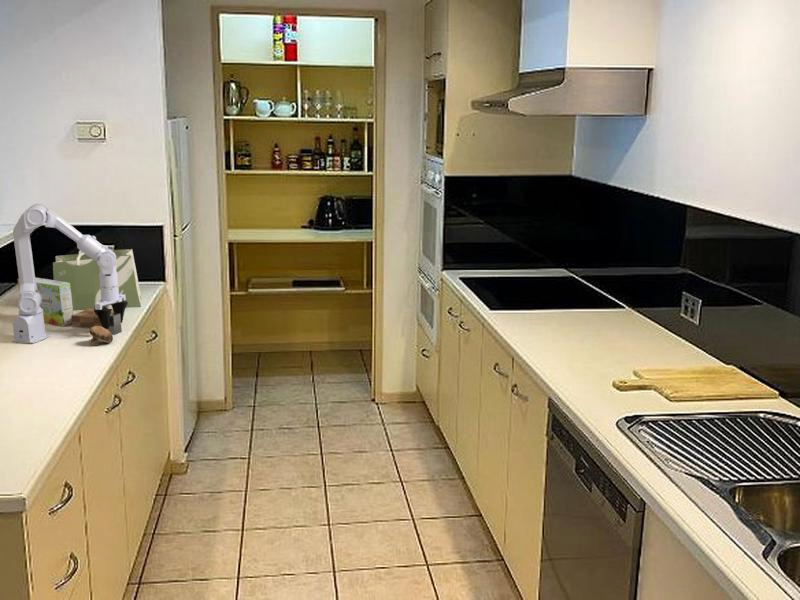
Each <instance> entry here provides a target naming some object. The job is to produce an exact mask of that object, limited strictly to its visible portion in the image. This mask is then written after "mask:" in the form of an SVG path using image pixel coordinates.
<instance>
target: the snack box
mask: <svg viewBox="0 0 800 600" xmlns="http://www.w3.org/2000/svg"><path fill="white" fill-rule="evenodd" d="M35 281H36V284H37V288H38V291H39V293H40V294H41V296H42V302H41V304H40V305H39V306H40V307H41V308H42V309H43V316H44V325H45V324H46V325H51V326H55V327H60V326H61V328H64V327H68V326H70V325H71V326H72V318H71V316H72V315H74V310H73V306H72V297H71V287H70V283H67V282H61V281H55V280H54V279H48V278H41V277H36V276H35ZM17 284H18V291H19V290H20V283H19V278H17Z"/></svg>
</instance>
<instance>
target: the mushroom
mask: <svg viewBox="0 0 800 600" xmlns="http://www.w3.org/2000/svg"><path fill="white" fill-rule="evenodd" d="M88 332H89V334H90V335H91V336H92V338H90V340H89V342H90V343H91V344H92V345H94V346H97V344H98V345H99V344H100V343H103V342H104V343H106V344H111V343H112V342H113V340H114V337H113V336H114V335H112V333H111V332H110V331H109V330H107V329H105V328H103V327H101V326H94V327H91V328H89V329H88Z"/></svg>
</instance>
